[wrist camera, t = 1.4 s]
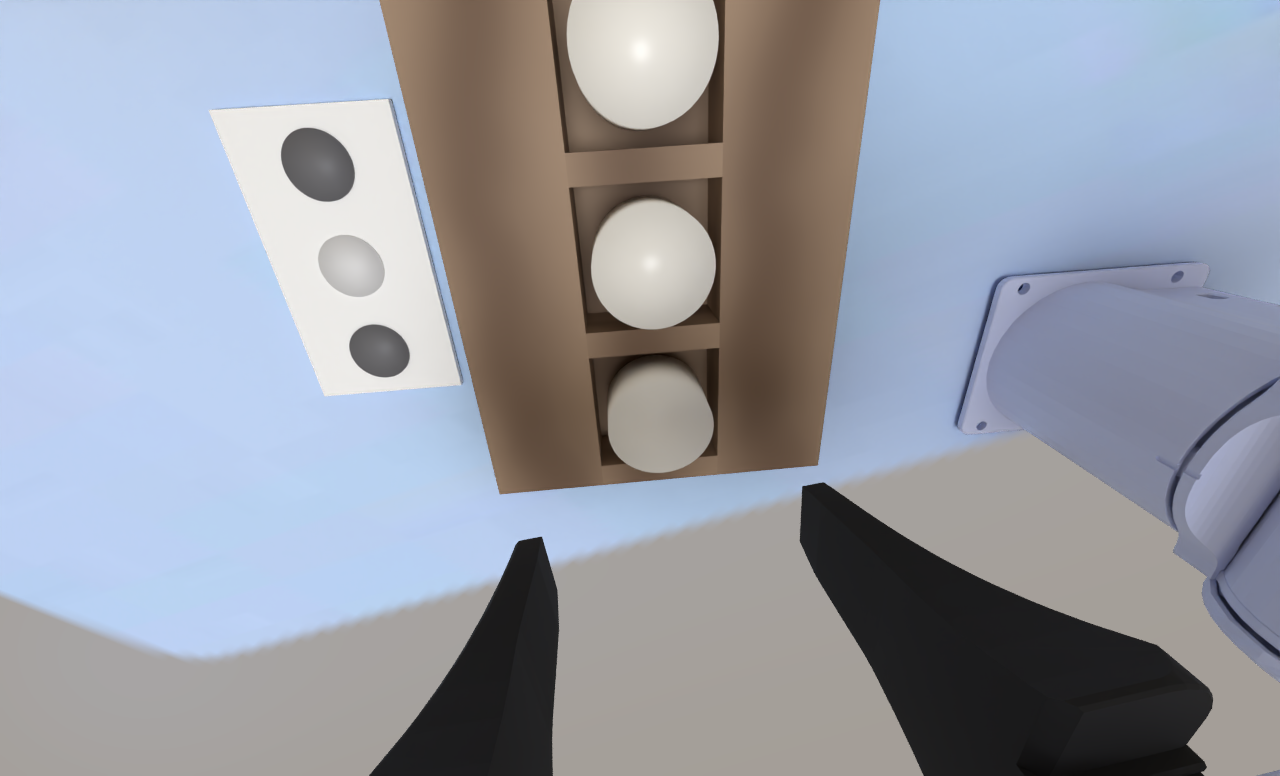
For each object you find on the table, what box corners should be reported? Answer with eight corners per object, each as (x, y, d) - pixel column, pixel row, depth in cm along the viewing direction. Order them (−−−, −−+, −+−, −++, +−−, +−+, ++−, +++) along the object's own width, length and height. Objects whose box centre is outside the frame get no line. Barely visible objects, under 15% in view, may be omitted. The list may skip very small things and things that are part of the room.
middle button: (701, 191, 17) (716, 199, 14) (701, 303, 18) (714, 324, 16) (586, 200, 17) (584, 208, 14) (598, 311, 18) (597, 334, 16)
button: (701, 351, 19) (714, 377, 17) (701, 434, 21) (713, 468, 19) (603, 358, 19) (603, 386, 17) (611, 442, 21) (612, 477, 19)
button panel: (842, -75, 15) (896, -125, 13) (792, 427, 24) (817, 465, 21) (402, -53, 15) (355, -99, 12) (512, 452, 24) (499, 494, 21)
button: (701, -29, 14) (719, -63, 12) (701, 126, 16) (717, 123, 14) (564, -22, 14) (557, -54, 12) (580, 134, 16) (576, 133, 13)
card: (391, 99, 17) (387, 98, 16) (463, 382, 22) (460, 385, 21) (215, 110, 16) (206, 110, 16) (328, 393, 21) (323, 397, 21)
